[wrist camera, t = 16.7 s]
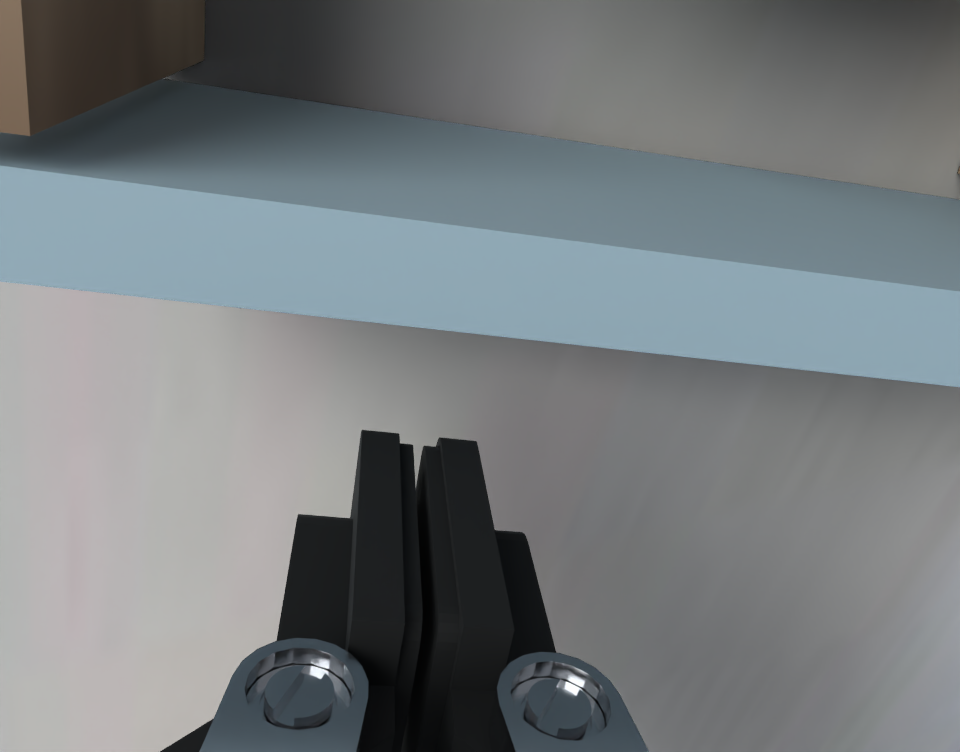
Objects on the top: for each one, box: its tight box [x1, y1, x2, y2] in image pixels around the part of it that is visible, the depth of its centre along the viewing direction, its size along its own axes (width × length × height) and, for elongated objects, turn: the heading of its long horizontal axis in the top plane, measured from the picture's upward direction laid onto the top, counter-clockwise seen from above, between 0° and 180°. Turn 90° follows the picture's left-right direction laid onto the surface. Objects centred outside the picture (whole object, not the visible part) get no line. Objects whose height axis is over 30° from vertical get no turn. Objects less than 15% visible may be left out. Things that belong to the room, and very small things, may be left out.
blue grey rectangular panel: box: [0, 79, 960, 387], centre depth 11 cm, size 1×15×6 cm, turn 81°
